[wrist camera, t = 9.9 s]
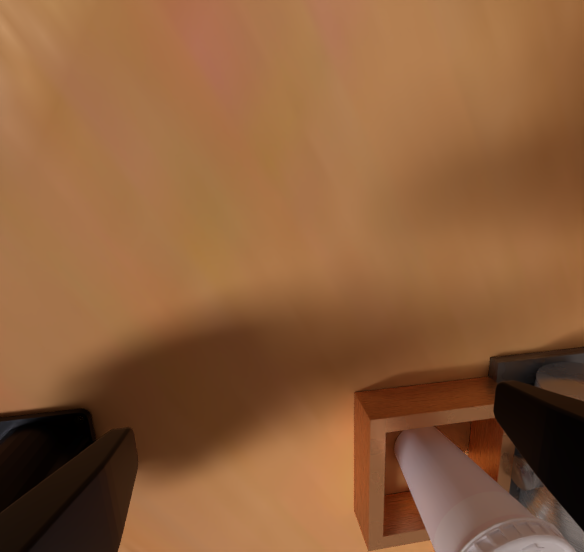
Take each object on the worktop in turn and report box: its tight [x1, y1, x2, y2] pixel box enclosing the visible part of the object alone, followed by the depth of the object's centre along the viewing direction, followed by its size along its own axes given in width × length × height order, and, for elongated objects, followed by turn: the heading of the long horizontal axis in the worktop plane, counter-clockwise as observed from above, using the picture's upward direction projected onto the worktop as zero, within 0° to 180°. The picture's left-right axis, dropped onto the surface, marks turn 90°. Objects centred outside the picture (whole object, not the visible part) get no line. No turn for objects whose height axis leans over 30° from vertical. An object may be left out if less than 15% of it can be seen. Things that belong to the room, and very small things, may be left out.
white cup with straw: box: [394, 426, 576, 552], centre depth 18 cm, size 6×6×14 cm
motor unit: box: [354, 347, 584, 552], centre depth 22 cm, size 19×13×8 cm
